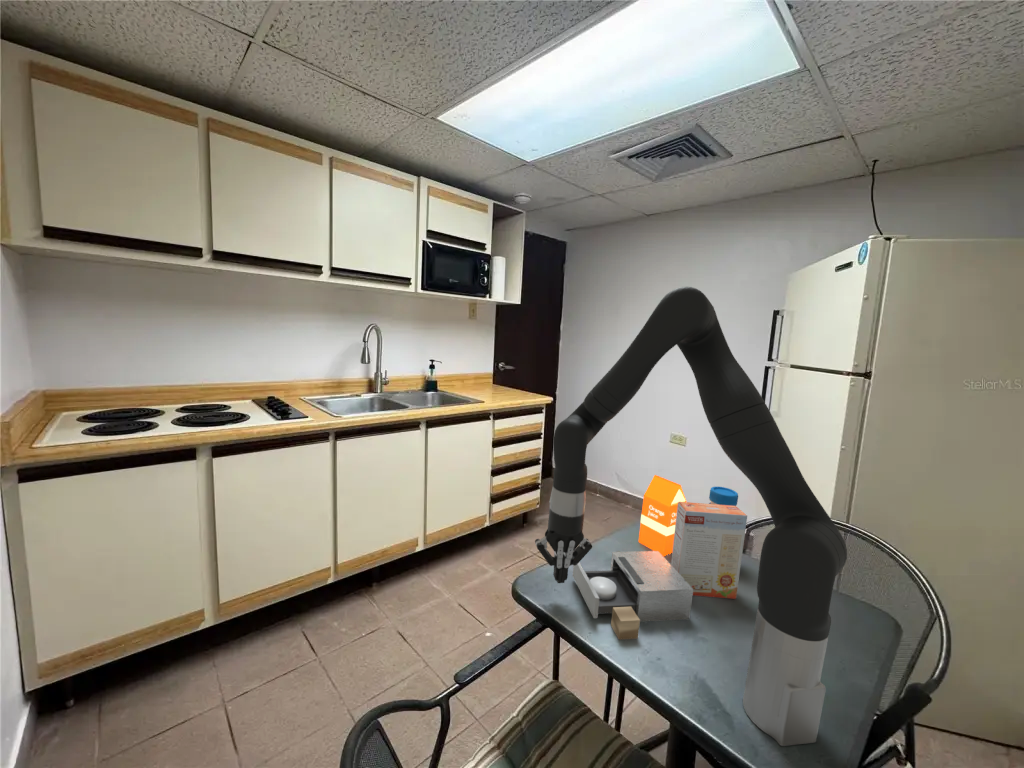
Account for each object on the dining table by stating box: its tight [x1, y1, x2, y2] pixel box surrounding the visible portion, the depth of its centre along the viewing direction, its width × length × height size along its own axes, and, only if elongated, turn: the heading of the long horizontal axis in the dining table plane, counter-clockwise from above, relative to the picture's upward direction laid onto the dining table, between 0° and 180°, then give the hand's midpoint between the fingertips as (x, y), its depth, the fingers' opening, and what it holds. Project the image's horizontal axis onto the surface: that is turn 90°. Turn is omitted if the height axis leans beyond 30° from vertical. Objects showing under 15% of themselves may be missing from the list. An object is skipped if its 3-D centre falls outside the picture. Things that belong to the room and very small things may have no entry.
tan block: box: [610, 607, 641, 640], centre depth 83 cm, size 4×4×4 cm
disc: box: [590, 577, 616, 600], centre depth 93 cm, size 6×6×2 cm
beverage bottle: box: [708, 486, 739, 507], centre depth 111 cm, size 8×8×20 cm
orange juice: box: [638, 474, 688, 557], centre depth 117 cm, size 8×9×20 cm
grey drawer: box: [572, 561, 638, 619], centre depth 93 cm, size 15×12×4 cm
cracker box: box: [670, 501, 748, 600], centre depth 98 cm, size 14×6×21 cm, turn 87°
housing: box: [610, 550, 694, 623], centre depth 94 cm, size 15×12×7 cm
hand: (559, 580), depth 91 cm, fingers closed
